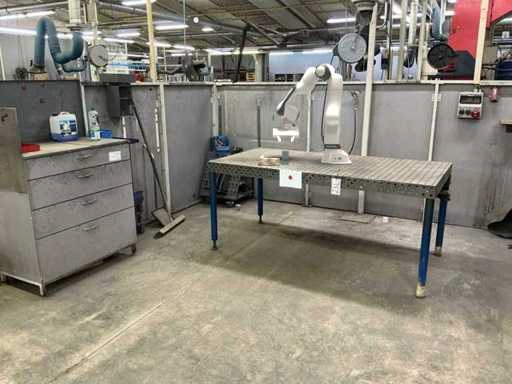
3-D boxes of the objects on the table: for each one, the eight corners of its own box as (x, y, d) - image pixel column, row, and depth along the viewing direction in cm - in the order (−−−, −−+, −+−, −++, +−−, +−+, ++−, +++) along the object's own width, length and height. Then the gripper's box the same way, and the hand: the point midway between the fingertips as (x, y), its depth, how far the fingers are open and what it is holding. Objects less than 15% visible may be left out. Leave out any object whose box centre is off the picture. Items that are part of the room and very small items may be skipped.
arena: (279, 162, 296) (280, 155, 295) (279, 165, 283) (279, 158, 281) (261, 162, 297) (261, 155, 296) (259, 165, 284) (259, 158, 283)
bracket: (288, 162, 295) (288, 150, 293) (288, 164, 287) (288, 152, 285) (281, 162, 296) (282, 150, 293) (281, 164, 288) (281, 152, 286)
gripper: (272, 124, 307) (272, 138, 300) (299, 125, 306) (299, 139, 298) (272, 130, 313) (272, 144, 305) (298, 130, 311) (298, 144, 304)
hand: (285, 141), depth 302 cm, fingers open, 8 cm apart
